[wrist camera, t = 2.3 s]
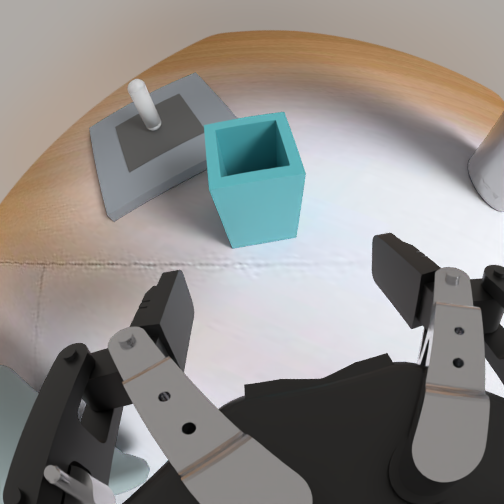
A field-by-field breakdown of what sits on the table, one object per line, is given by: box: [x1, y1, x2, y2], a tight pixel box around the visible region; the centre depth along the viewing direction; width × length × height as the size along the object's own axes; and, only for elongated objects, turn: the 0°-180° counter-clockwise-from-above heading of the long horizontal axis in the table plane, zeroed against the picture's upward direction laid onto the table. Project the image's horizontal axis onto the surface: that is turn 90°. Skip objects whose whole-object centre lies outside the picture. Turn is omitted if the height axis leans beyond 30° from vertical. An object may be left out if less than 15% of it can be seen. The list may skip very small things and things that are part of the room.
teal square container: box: [204, 112, 306, 248], centre depth 22 cm, size 6×6×10 cm
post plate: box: [89, 73, 238, 222], centre depth 28 cm, size 18×18×10 cm
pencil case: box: [0, 365, 150, 504], centre depth 12 cm, size 22×19×13 cm
